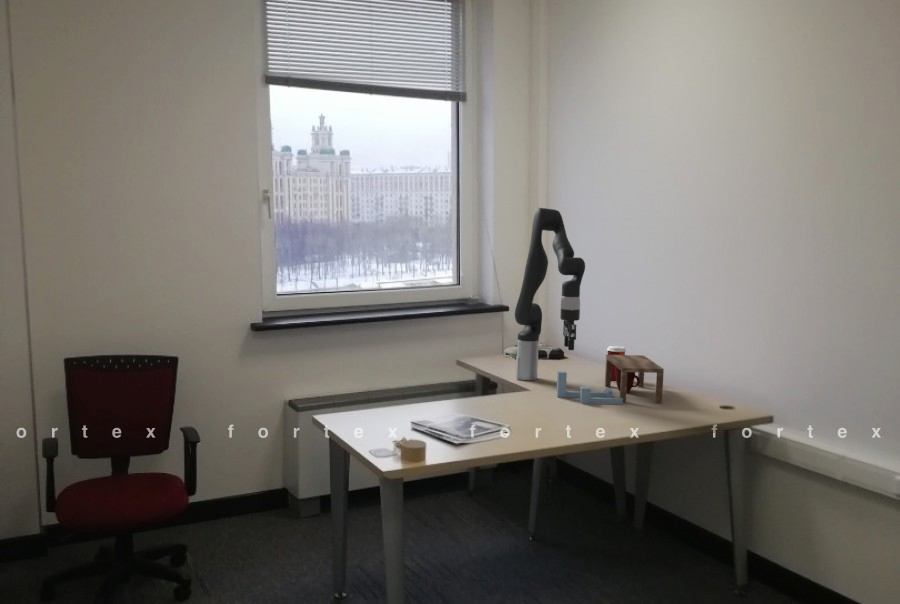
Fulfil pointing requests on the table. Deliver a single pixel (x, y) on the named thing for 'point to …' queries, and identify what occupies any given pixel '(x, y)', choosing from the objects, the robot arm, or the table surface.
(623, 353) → the coffee cup
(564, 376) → the light blue l-shaped bar
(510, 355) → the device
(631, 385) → the mug
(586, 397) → the blue l-shaped block
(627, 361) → the small wooden table
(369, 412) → the table surface
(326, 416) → the table surface
